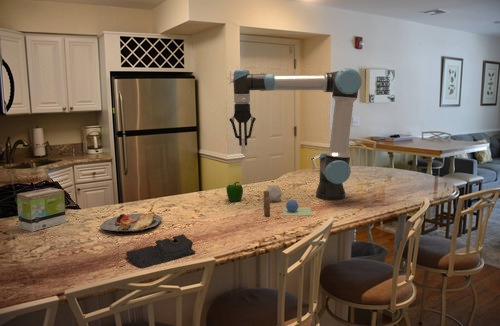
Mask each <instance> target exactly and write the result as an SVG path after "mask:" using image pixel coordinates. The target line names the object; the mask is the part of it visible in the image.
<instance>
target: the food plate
mask: <svg viewBox="0 0 500 326" xmlns="http://www.w3.org/2000/svg"><path fill="white" fill-rule="evenodd" d="M162 220H163V217H162V216H160V215H158V214H156V213H155V212H154V211H153V212H147V213H141V212H140V213H129V214H125V213H121V214H119V215H118V216H115V217H112V218H108V219H106V220H105V221H104V222H103V223H101V224H100V226H99V228H100V229H101V230H104V231H105V230H107V231H114V232H120V233H125V232H127V233H130V232H139V231H140V232H142V231H144V230H147V229H148V228H153V227H155V226H157V225H159V223H160V222H162Z"/></svg>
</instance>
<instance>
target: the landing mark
mask: <svg viewBox="0 0 500 326" xmlns="http://www.w3.org/2000/svg"><path fill="white" fill-rule="evenodd" d="M281 210H282V212H283V216H284V217H292V216H293V217H299V216H300V217H309V216H310V217H311V216H314V214H313V212H312V208H311V207H308V206H307V207H306V206H305V207H304V206H303V207H302V206H301V207H299V206H298V209H297V210H296V211H295V212H290V211H288V210H287V208H286V207H282V209H281Z"/></svg>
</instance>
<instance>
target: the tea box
mask: <svg viewBox="0 0 500 326" xmlns="http://www.w3.org/2000/svg"><path fill="white" fill-rule="evenodd" d="M16 202H17V203H16V204H17V205H16V206H17V216H18V228H19V229H21V230H24V231H28V232H31V233H33V232H36V231H39V230H42V229H47V228H51V227H54V226H57V225H62V224H66V223H67V219H66V218H67V217H66V216H67V214H66V203H65V190H64V189H60V188H59V189H58V188H54V187H48V188H47V187H46V188H41V189H36V190H32V191H31V190H30V191H26V192H25V191H24V192H19V193H16Z"/></svg>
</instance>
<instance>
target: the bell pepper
mask: <svg viewBox="0 0 500 326" xmlns="http://www.w3.org/2000/svg"><path fill="white" fill-rule="evenodd" d="M225 189H226V195H227V199H228V200H229V202H238V201H239V202H240V201H241V199H242V198H243V193H244V191H243V190H244V187H243V186H242V184H240V181H234V183H233V184H228V185H227V187H226V188H225Z"/></svg>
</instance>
